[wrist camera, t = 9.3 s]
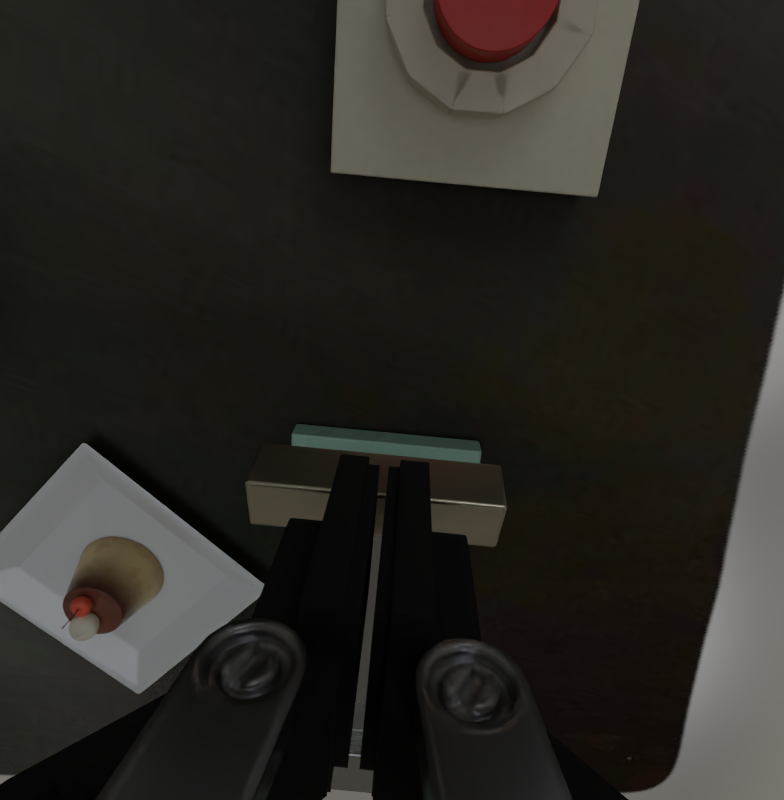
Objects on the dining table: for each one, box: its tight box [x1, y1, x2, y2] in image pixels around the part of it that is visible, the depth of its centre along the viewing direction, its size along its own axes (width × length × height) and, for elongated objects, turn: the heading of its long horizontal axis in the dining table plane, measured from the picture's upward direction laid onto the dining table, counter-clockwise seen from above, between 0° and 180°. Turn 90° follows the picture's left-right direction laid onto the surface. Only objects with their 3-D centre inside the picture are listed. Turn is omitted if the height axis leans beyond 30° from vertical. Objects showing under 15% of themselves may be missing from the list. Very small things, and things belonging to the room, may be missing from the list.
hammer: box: [245, 443, 507, 793], centre depth 15 cm, size 13×5×2 cm, turn 175°
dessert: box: [0, 443, 264, 694], centre depth 29 cm, size 12×12×5 cm
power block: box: [331, 0, 640, 197], centre depth 19 cm, size 11×10×4 cm
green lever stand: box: [291, 424, 482, 463], centre depth 22 cm, size 10×9×14 cm
